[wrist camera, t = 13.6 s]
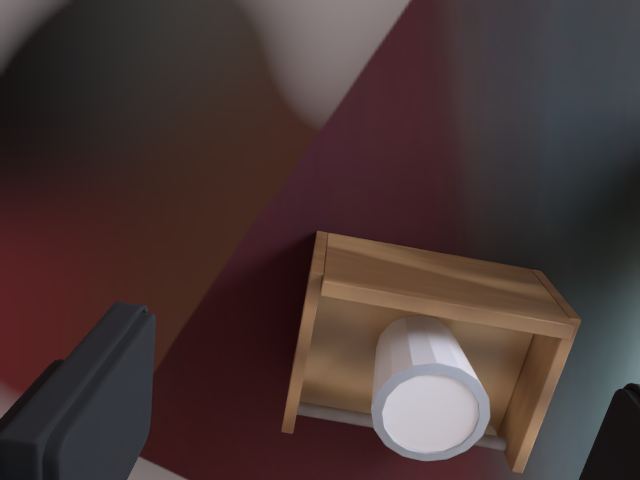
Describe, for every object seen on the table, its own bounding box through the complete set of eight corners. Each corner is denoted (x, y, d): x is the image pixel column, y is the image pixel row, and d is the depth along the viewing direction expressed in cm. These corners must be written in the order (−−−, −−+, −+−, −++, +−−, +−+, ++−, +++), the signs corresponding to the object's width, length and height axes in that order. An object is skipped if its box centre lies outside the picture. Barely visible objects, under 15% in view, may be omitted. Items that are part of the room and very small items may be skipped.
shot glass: (485, 330, 37) (514, 393, 31) (436, 405, 40) (453, 478, 33) (395, 290, 37) (405, 346, 30) (350, 369, 39) (351, 436, 32)
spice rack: (494, 404, 44) (527, 485, 36) (291, 369, 44) (279, 442, 36) (541, 270, 40) (589, 328, 32) (316, 230, 40) (309, 278, 32)
